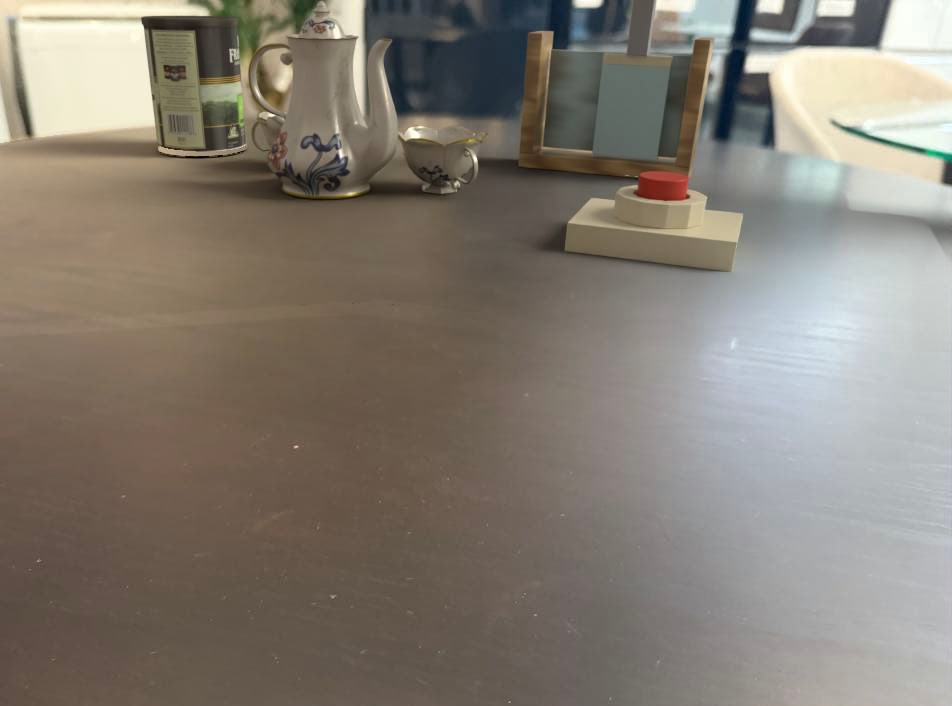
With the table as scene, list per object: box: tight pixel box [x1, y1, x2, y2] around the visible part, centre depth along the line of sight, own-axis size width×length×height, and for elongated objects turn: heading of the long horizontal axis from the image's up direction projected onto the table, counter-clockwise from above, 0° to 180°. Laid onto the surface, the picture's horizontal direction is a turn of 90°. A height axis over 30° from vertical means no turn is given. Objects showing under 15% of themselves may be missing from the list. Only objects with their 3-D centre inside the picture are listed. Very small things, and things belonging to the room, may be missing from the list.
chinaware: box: [247, 0, 489, 200], centre depth 79 cm, size 28×17×17 cm, turn 63°
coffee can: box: [140, 15, 247, 158], centre depth 94 cm, size 10×10×14 cm
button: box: [637, 171, 690, 201], centre depth 63 cm, size 4×4×2 cm
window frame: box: [517, 30, 716, 179], centre depth 88 cm, size 18×5×14 cm, turn 68°
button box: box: [564, 184, 744, 273], centre depth 64 cm, size 12×9×4 cm
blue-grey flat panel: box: [592, 0, 673, 160], centre depth 85 cm, size 7×2×17 cm, turn 68°
